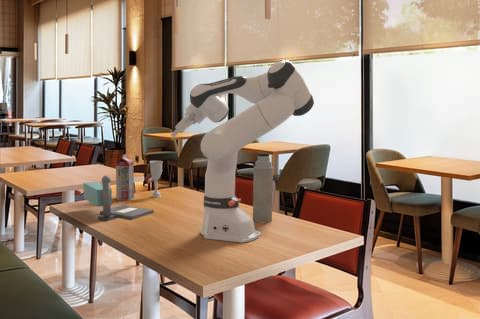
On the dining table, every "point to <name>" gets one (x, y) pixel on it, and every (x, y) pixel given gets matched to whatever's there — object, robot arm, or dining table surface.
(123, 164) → the white tall printed box
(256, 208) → the thermos bottle
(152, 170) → the chalice
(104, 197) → the block
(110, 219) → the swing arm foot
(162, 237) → the dining table surface
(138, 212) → the grey flat rectangular block
